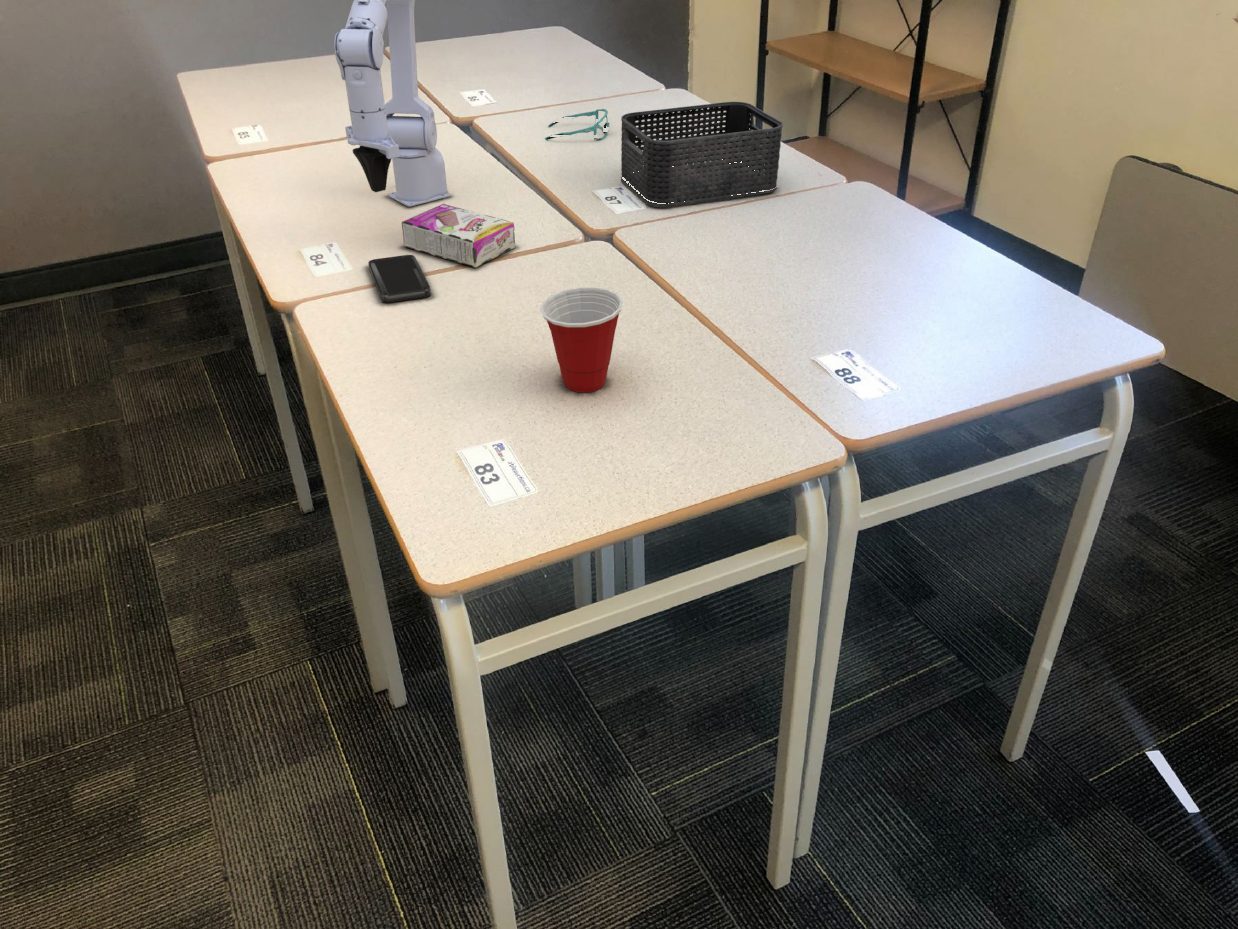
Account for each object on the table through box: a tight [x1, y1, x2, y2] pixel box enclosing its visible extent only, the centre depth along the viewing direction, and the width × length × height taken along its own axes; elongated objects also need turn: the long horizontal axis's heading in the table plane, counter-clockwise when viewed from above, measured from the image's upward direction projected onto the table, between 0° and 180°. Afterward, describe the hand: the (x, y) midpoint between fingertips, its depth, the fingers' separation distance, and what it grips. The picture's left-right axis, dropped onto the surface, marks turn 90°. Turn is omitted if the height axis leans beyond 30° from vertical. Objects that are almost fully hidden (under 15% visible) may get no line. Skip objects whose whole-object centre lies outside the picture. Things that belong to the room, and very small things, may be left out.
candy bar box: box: [401, 203, 516, 269], centre depth 165 cm, size 11×5×16 cm
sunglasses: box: [544, 108, 610, 141], centre depth 221 cm, size 14×15×5 cm
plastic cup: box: [539, 286, 624, 394], centre depth 126 cm, size 11×11×12 cm
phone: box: [367, 254, 432, 304], centre depth 155 cm, size 8×1×15 cm
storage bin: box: [620, 101, 784, 209], centre depth 190 cm, size 29×19×13 cm
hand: (378, 190), depth 163 cm, fingers closed
